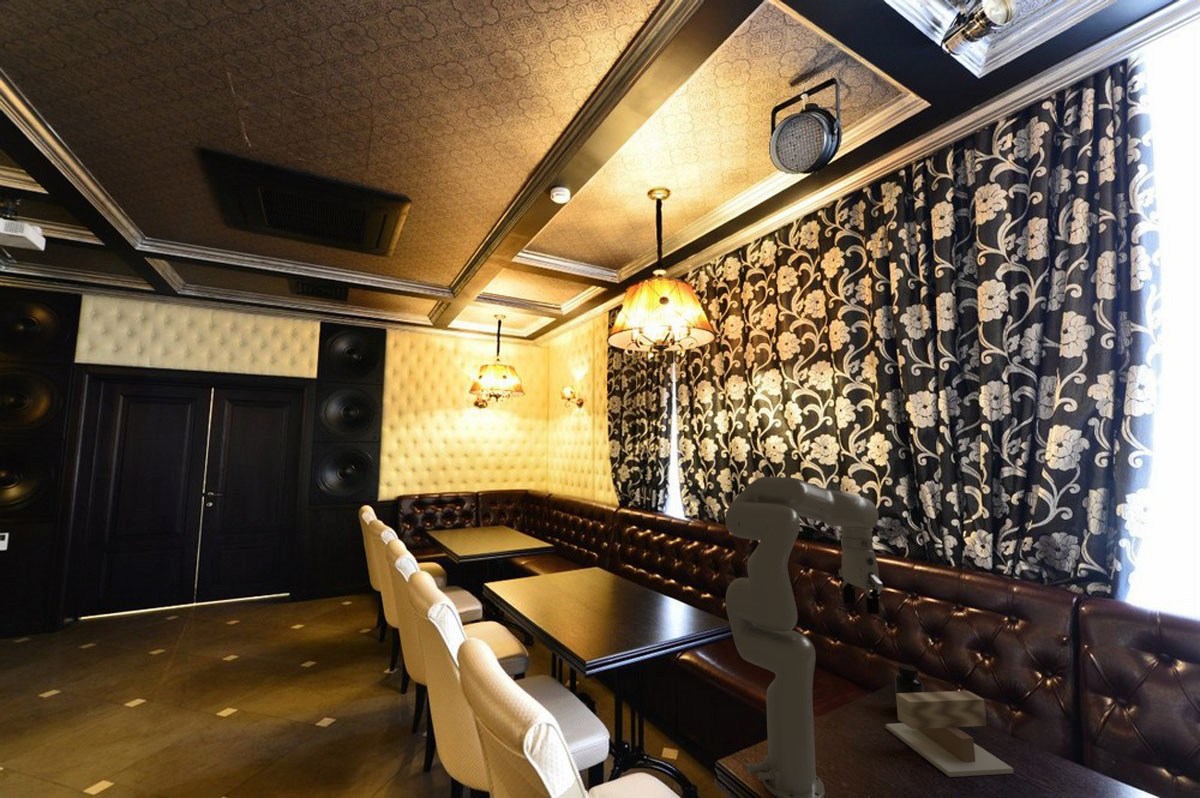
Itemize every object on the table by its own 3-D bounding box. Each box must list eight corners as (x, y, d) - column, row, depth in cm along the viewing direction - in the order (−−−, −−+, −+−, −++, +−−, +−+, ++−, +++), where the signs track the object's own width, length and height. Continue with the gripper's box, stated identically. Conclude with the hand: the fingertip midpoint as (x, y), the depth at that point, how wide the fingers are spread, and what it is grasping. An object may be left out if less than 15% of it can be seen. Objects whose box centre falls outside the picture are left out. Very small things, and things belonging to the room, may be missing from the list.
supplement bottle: (929, 721, 128) (925, 674, 130) (900, 716, 130) (897, 670, 132) (921, 709, 135) (917, 664, 137) (893, 704, 137) (890, 661, 139)
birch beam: (970, 716, 120) (968, 690, 120) (986, 725, 115) (984, 699, 116) (898, 719, 117) (896, 693, 118) (911, 729, 113) (909, 702, 114)
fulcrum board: (949, 776, 105) (946, 747, 106) (885, 728, 124) (884, 703, 125) (1013, 773, 106) (1010, 744, 107) (941, 725, 126) (939, 701, 127)
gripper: (891, 548, 123) (896, 617, 120) (850, 539, 140) (853, 599, 137) (865, 548, 122) (869, 618, 119) (826, 539, 139) (829, 599, 136)
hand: (861, 608), depth 128 cm, fingers open, 9 cm apart
